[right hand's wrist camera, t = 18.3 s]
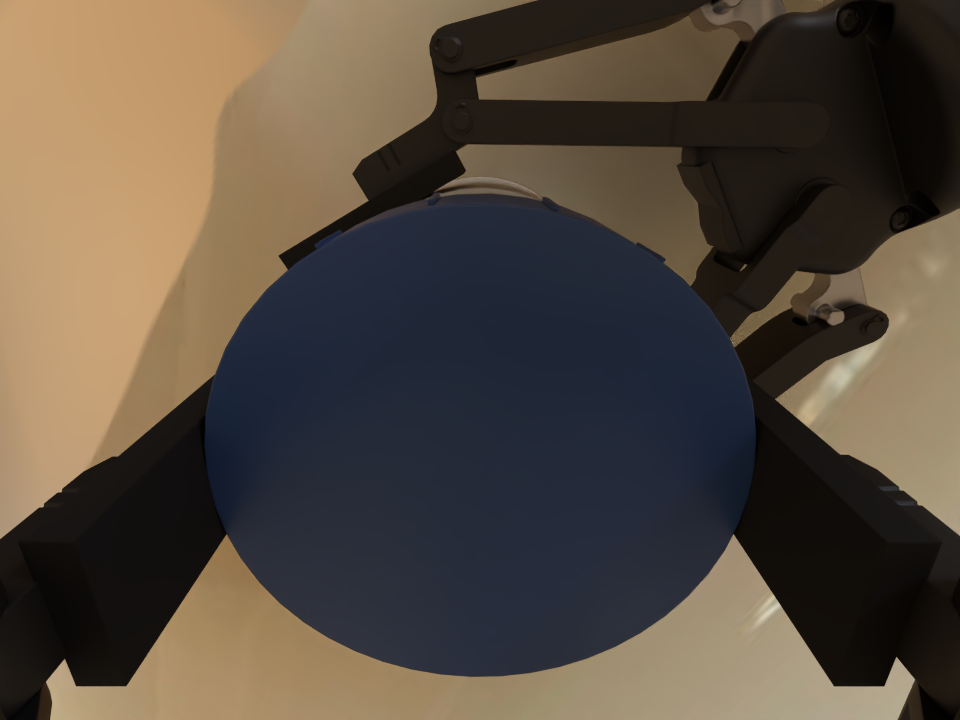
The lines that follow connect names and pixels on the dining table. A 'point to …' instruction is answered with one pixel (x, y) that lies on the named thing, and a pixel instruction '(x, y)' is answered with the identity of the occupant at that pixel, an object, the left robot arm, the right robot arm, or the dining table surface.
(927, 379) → the dining table surface
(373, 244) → the lid
